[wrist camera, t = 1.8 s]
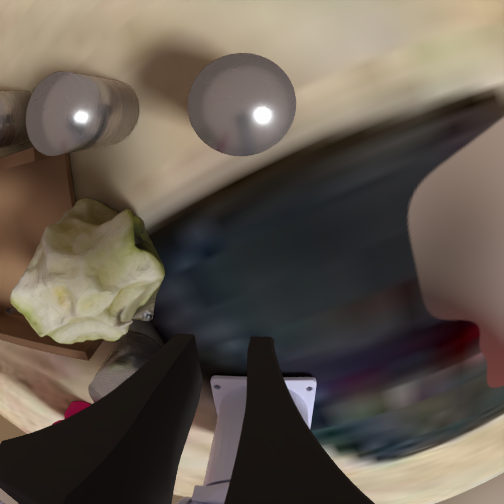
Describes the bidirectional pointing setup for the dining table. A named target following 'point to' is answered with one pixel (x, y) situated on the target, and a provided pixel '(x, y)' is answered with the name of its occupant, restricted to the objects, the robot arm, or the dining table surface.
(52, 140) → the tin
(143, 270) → the pale green lumpy ball
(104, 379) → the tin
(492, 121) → the dining table surface
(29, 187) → the tray
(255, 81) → the grey metal cylinder
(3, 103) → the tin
